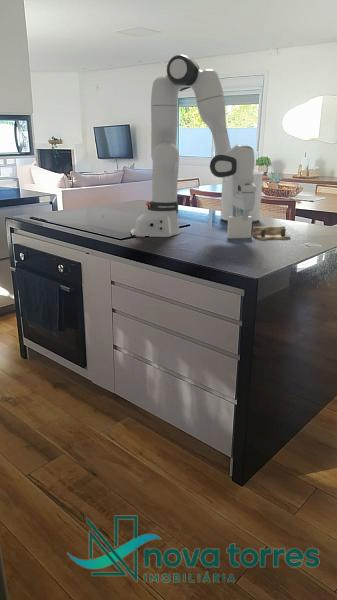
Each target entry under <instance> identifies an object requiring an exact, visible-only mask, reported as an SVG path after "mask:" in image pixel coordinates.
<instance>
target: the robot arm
mask: <svg viewBox="0 0 337 600" xmlns="http://www.w3.org/2000/svg"><path fill="white" fill-rule="evenodd" d="M166 74H167V75H162V76H159V77H155V79H154V80H153V83H152V86H151V93H150V94H151V96H150V118H151V119H150V122H151V123H150V125H151V126H150V128H151V129H150V132H151V133H150V139H151V140H150V142H151V143H150V157H151V161H152V177H151V178H152V179H151V185H152V186H151V201H149V200H148V201H146V202H145V205H146V206H147V210H146V211H145V212H143V213H142V214H141V215H139V216H138V217H137V218H136V220H135V225H134V228H132V229H130V232H131V233H130V235H131V234H132V235H131V236H133V235H136V236H135V237H145V236H149V237H157V238H160V237H161V238H169V237H172V236H176V235H179V234H181V230H180V226H179V220H178V218H179V217H178V213H179V202H178V178H179V165H180V152H179V149H178V148H177V141H178V138H177V137H178V124H179V123H178V119H179V116H178V113H179V109H178V108H179V107H178V104H179V102H178V99H179V97H178V96H179V92H183V91H185V90H188V89H192V91H193V92H194V95H195V100H196V101H195V102H196V107H197V110H198V114H199V116H200V119H201V120H202V122H203V123H204V124H205V125H206V126H207V127H208V129H209V131H210V132H211V135H212V139H213V143H214V149H215V153H216V155H215V156H213V157H212V158H211V160H210V163H209V169H210V173H211V174H212V175H213V176H215V177H217V178H221V179H222V178H224V177H228V176H232V177H233V179H232V190H233V193H232V205H234V206H235V209H236V216H241V209H242V210H243V213H244V215H243V220H244V221H247V220H248V215H249V211H253V209H254V203H255V192H256V189H257V188H256V185H255V184H254V175H253V171H255V162H256V161H255V151H254V148H253V147H251V146H249V145H247V144H246V145H245V144H235V145H234V146H233V147H231V143H230V138H229V133H228V129H227V121H226V120H227V119H226V117H227V115H226V102H225V96H224V95H225V94H224V91H223V87H222V84H221V80H220V78H219V74H218V72H217V71H216V70H214V69H211V68H207V69H200V66H199V65H198V63H197V62H196V61H195V60H194V59H193V58H192V57H189V56H187V55H185V54H176V55H174V56H172V57H171V58H170V59H169V61H168V63H167V65H166Z"/></svg>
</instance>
